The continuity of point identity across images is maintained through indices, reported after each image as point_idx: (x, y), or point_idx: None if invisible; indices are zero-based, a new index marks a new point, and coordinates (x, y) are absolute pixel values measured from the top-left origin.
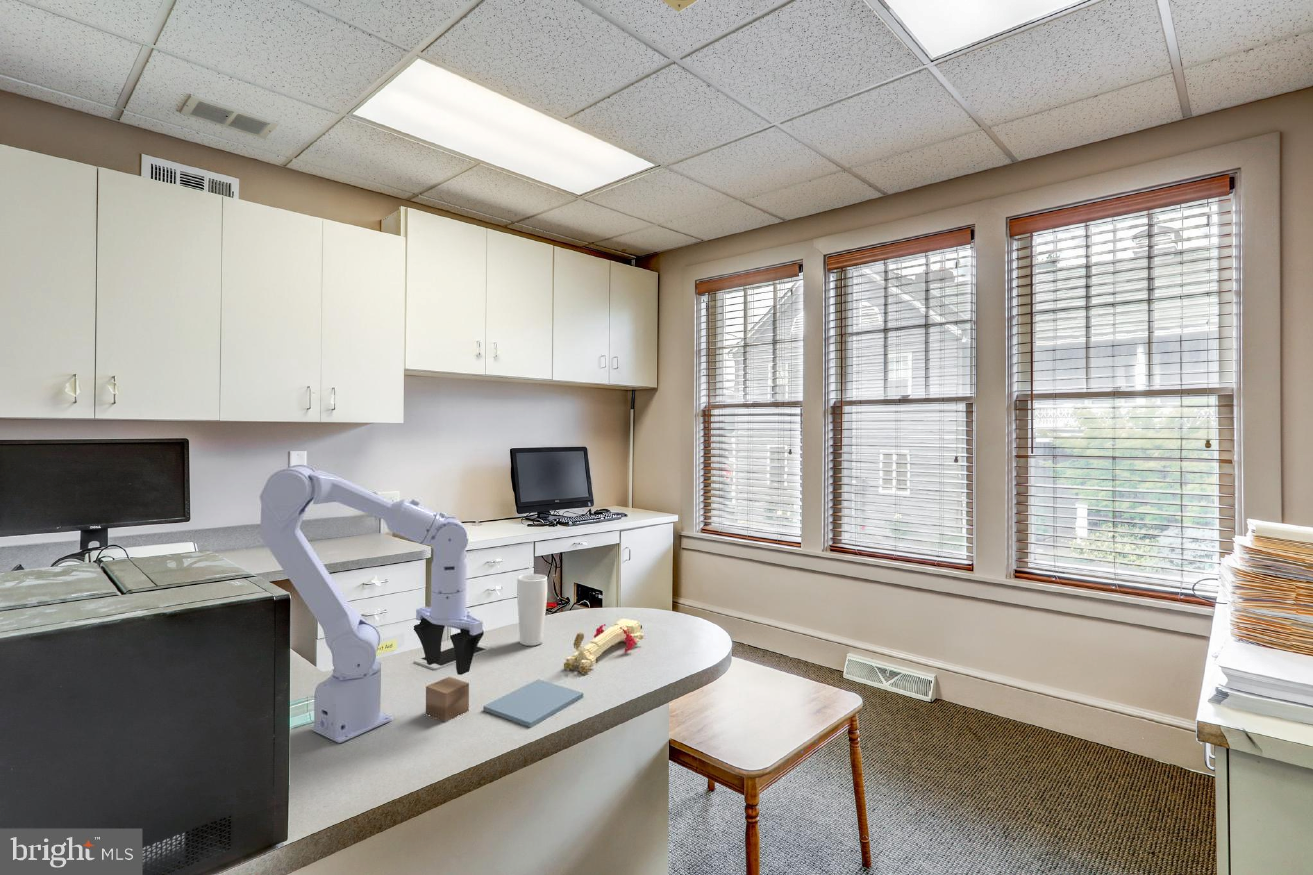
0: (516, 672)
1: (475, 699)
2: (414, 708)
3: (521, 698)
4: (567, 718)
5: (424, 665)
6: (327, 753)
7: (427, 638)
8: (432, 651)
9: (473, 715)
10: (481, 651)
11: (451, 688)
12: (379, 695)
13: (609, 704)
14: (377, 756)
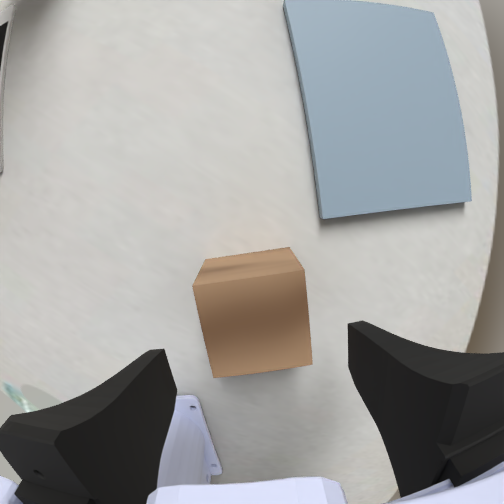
0: (168, 3)
1: (236, 187)
2: (166, 333)
3: (363, 112)
4: (482, 118)
5: None
6: None
7: (148, 481)
8: (159, 412)
9: (322, 253)
10: (7, 34)
11: (294, 335)
12: (179, 456)
13: (478, 27)
14: (311, 451)
